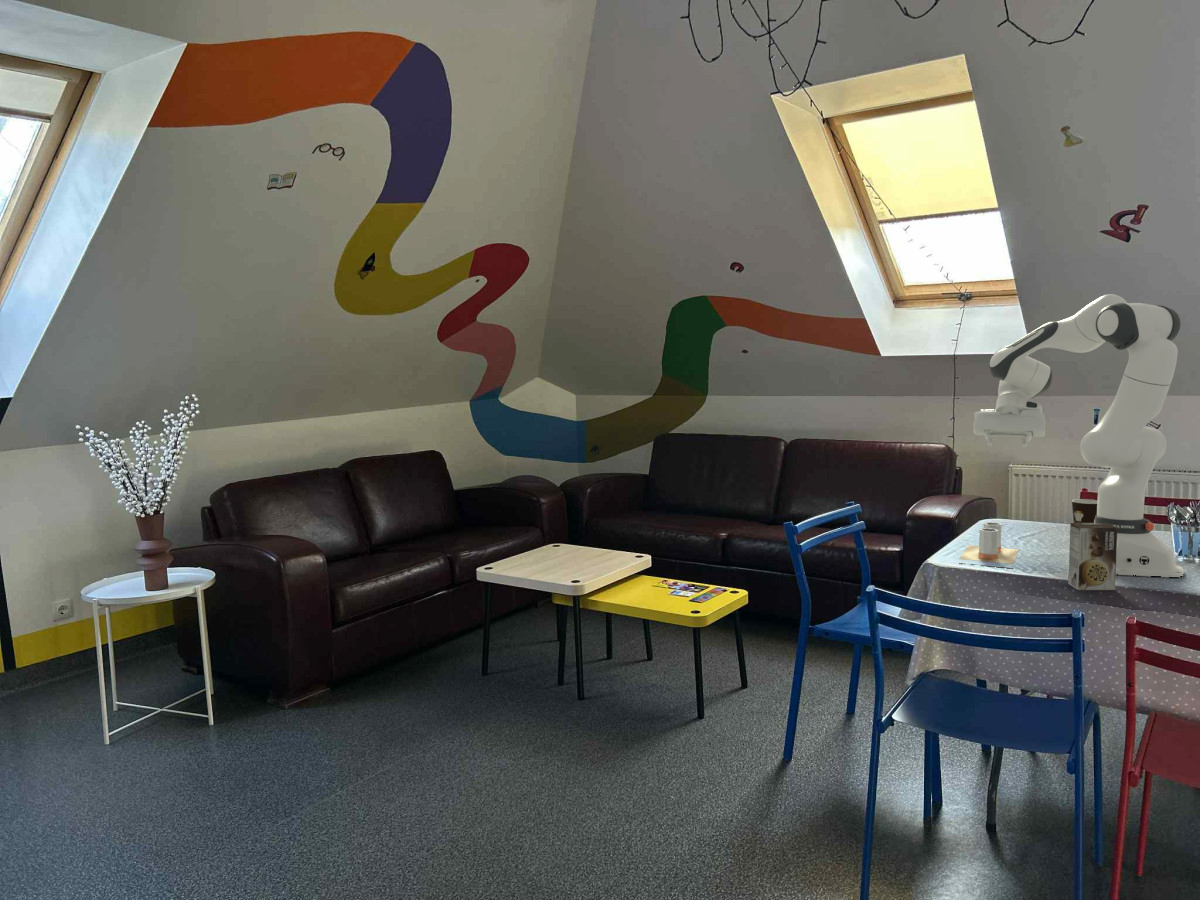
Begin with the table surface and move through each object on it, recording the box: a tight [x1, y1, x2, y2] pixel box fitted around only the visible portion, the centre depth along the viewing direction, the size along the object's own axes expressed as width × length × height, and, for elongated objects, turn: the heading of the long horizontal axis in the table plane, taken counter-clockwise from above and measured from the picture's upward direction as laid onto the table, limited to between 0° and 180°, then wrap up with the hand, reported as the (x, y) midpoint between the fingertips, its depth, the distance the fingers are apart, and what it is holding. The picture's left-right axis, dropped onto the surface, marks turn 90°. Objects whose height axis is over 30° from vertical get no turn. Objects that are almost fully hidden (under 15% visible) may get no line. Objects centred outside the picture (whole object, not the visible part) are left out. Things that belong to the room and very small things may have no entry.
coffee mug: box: [1071, 498, 1098, 523], centre depth 296 cm, size 12×9×10 cm
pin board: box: [958, 544, 1020, 570], centre depth 261 cm, size 14×20×6 cm
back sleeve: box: [983, 521, 1002, 552], centre depth 265 cm, size 5×5×8 cm
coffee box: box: [1067, 522, 1117, 591], centre depth 229 cm, size 9×6×16 cm
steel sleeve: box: [978, 528, 998, 560], centre depth 257 cm, size 5×5×8 cm
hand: (1006, 444), depth 273 cm, fingers open, 8 cm apart
